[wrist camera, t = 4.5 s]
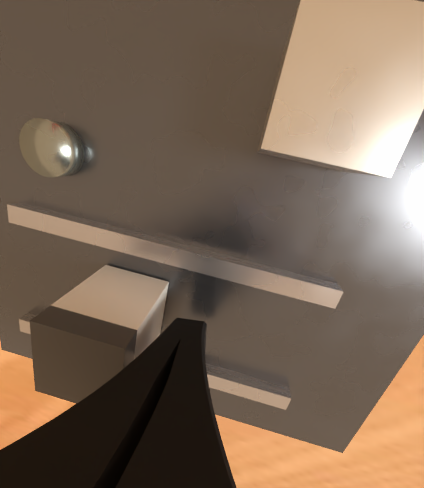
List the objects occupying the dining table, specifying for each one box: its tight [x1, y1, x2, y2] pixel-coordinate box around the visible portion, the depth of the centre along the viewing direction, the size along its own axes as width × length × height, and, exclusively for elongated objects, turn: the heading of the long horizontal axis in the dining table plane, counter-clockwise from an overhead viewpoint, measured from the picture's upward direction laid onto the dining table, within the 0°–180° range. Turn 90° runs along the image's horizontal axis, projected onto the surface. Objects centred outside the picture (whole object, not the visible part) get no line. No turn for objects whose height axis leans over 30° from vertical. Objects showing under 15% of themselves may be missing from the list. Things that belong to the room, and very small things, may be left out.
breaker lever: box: [30, 265, 169, 403], centre depth 9 cm, size 3×3×4 cm
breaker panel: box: [0, 0, 424, 453], centre depth 9 cm, size 20×20×5 cm
